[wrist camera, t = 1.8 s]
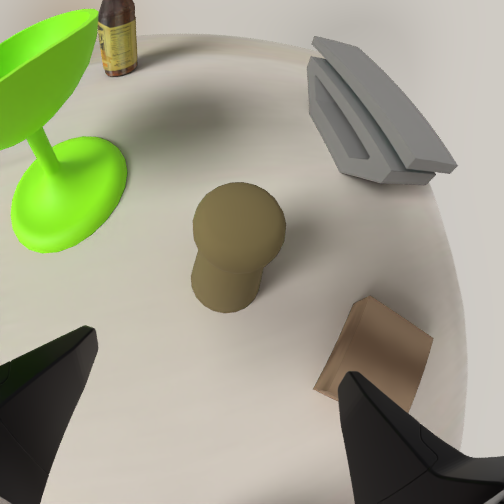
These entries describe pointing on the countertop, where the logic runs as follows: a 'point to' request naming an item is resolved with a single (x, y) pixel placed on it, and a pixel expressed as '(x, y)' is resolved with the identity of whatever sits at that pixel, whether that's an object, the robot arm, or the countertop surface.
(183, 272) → the countertop surface
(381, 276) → the countertop surface
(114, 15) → the sauce bottle
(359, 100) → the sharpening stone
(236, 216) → the olive tall rounded piece
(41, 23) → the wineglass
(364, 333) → the tan flat block
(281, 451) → the countertop surface
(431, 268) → the countertop surface
